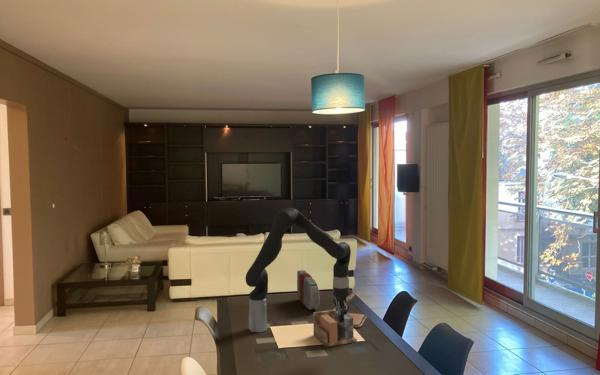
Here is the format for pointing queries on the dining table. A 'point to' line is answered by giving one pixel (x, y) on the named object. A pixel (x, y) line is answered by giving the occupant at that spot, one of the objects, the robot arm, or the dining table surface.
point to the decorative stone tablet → (307, 290)
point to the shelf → (324, 334)
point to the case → (357, 318)
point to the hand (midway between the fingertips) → (341, 322)
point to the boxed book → (329, 328)
